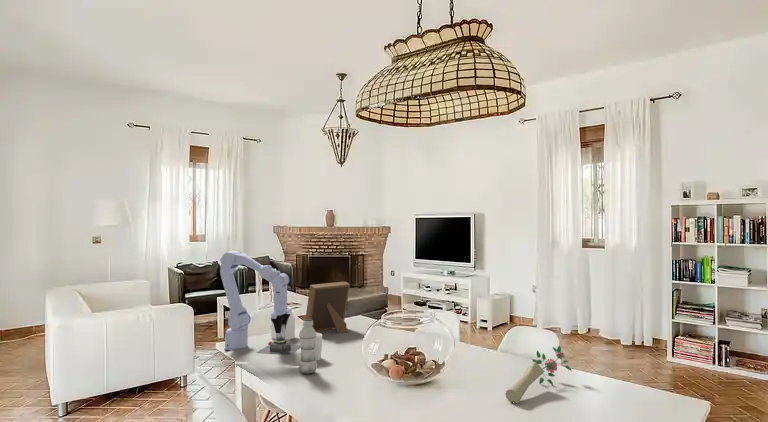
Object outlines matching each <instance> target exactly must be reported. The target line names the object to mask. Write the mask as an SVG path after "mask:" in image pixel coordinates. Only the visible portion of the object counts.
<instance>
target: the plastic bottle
mask: <svg viewBox="0 0 768 422" xmlns="http://www.w3.org/2000/svg"><path fill="white" fill-rule="evenodd" d="M302 326H303V327H302V328H301V330H300V332H299V335H298V336H299V345H301V348H300V360H299V367H298V368H299V372H301V373H302V374H307V375H308V374H314V373H315V372H316V371H317V366H318V364H317V360H316V357H315V342H316V333H317V332H316V331H315V330H314V328H313V327H312V326H313V320H305V319H304V320H302Z"/></svg>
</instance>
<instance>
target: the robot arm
mask: <svg viewBox="0 0 768 422" xmlns="http://www.w3.org/2000/svg"><path fill="white" fill-rule="evenodd" d="M219 261H220V267H219V274H220V278H221V281H222V285H223V288H224V292H225V296H226V299H227V304H228V307H229V311H228V314H227V316H228V322H227V323H228V327H229V328H227V329H226V331H225V334H224V348H223V350H225V351H226V350H227V351H233V350H235V349H246V348H248V346H249V345H248V344H249V341H248V340H249V339H248V338H249V335H248V334H249V324H250V323H251V319H252V318H251V316H250V314H249V313H248V310H247V308H246V307H244V306H243V304H242V299H241V297H240V294H239V293H240V292H239V289H238V285H237V281H236V278H235V275H234V272H235V271H236V269H237V268H238V267H239V266H241V265H244V266H247V267H248V268H250V269H252V270H254V271H255V272H258V274H259V275H258V276H260V278H262V279H265V280H266V281H268V282H269V283H271V286H273V311H272V313H271V314H270V321H271V320H272V322H273V324H274V328H275V332H276V333H281V328H282V323H283V324H285V329H286V324H287V321H288V318H289V316H290V314H287V313H289V308H287V307H288V284H289V283H290V276H289V275H288V274H287V273H285V272H281V271H280V270H276V269H275V268H273V266H272V265H271V264H266V265H263V264H261V263H259V261H257V260H255V259H254V258H251V256H249V255H248V254H246V253H245V252H242V251H241V250H235V251H227V252H224V253H223V254H222V255H221V258H220V260H219Z"/></svg>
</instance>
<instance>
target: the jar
mask: <svg viewBox="0 0 768 422" xmlns="http://www.w3.org/2000/svg"><path fill="white" fill-rule="evenodd" d="M287 308H289V313H287V314H290V316H289V318H288V321H287V324H286V329H285V340H288V341H289V340H291V339H296V335H295V332H296V331H295V330H296V329H295V328H296V327H295V326H296V325H295V323H296V318H295V316H294V314H293V313H292V307H289V306H287ZM270 339H273V340H276V332H275V328H274V324H273V322H272V320H271V319H270Z"/></svg>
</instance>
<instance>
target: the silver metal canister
mask: <svg viewBox="0 0 768 422" xmlns="http://www.w3.org/2000/svg"><path fill="white" fill-rule="evenodd" d="M275 340H276V343H277V344H283V343H285V324H283V323H282V328H281V333H276V339H275Z"/></svg>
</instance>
